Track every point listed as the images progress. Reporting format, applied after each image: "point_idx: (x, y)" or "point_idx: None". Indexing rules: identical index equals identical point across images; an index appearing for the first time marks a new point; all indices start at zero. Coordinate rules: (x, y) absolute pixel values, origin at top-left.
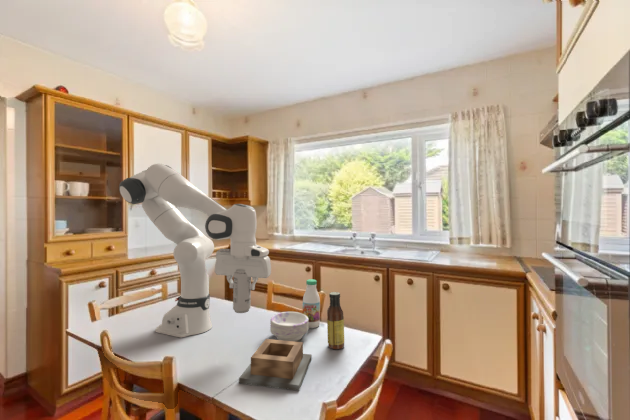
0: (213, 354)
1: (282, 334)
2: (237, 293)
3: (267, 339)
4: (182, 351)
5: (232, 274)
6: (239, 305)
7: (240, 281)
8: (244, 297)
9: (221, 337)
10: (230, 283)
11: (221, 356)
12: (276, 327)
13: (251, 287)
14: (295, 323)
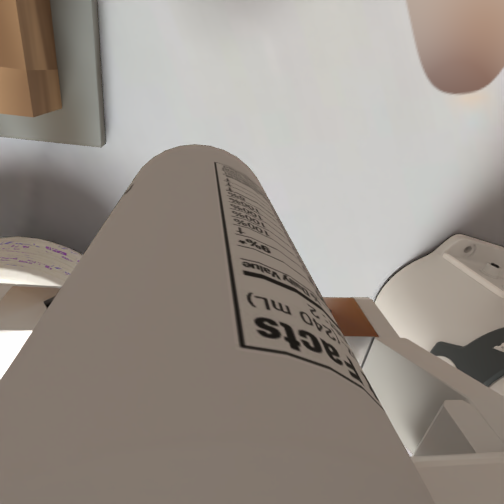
0: (305, 118)
1: (25, 244)
2: (218, 192)
3: (20, 109)
4: (429, 132)
5: (465, 488)
6: (189, 154)
7: (153, 288)
8: (131, 194)
9: (316, 256)
10: (385, 336)
11: (267, 104)
12: (53, 268)
13: (3, 302)
14: None
